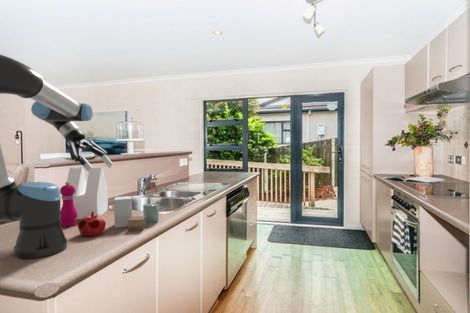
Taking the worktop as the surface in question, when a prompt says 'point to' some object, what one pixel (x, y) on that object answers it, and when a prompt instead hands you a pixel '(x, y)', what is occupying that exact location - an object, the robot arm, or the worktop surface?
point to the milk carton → (89, 191)
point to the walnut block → (137, 223)
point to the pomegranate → (91, 225)
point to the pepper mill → (68, 206)
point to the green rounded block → (151, 212)
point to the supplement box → (122, 211)
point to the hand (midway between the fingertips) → (101, 167)
